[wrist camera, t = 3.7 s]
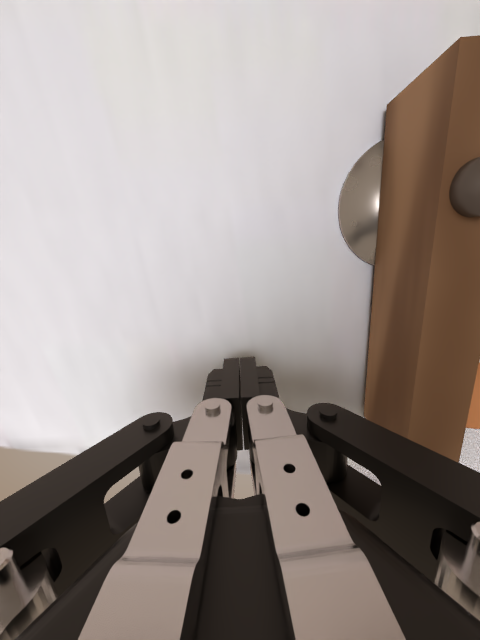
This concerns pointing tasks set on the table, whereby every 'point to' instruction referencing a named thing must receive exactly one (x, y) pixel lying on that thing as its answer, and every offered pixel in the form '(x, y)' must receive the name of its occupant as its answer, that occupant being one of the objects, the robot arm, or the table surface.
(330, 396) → the table surface
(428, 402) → the lever
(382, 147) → the pin plate
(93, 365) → the table surface
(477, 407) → the ball
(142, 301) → the table surface
